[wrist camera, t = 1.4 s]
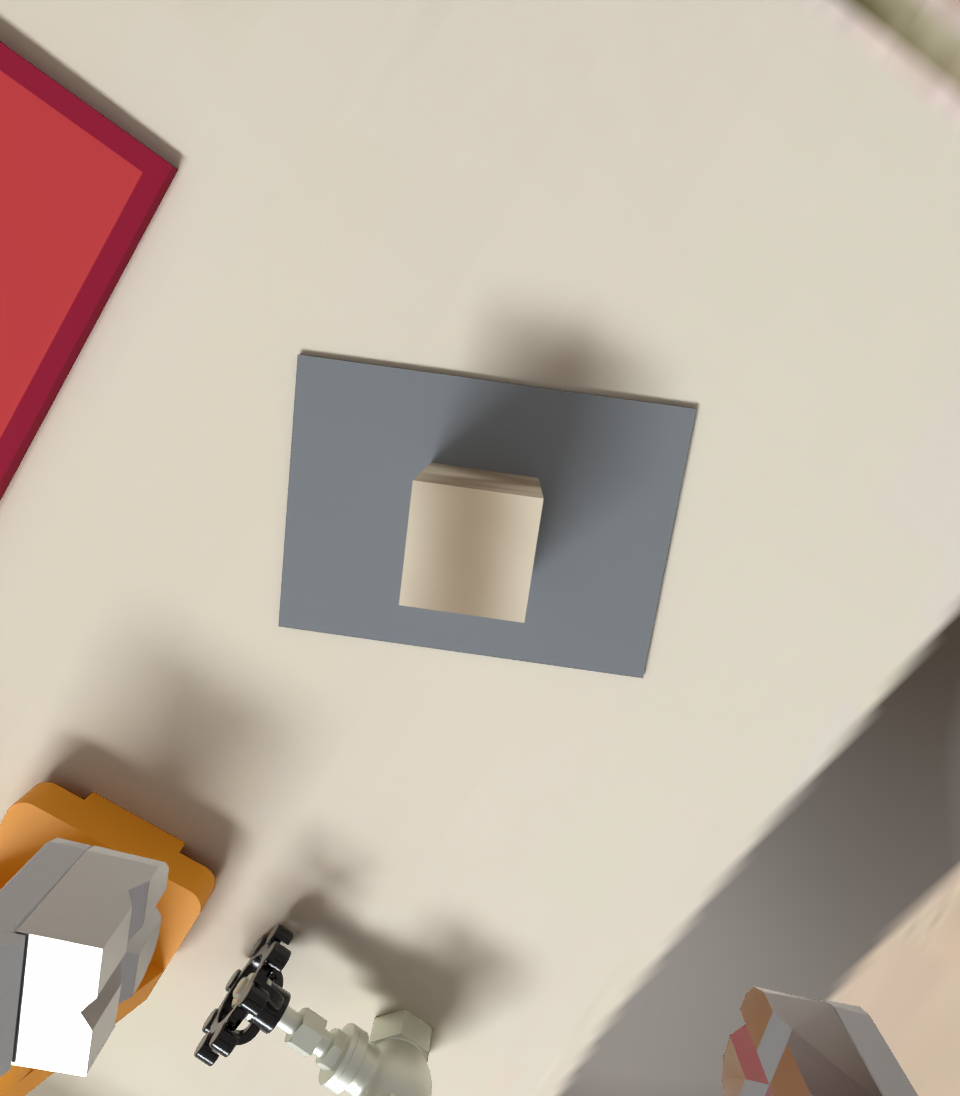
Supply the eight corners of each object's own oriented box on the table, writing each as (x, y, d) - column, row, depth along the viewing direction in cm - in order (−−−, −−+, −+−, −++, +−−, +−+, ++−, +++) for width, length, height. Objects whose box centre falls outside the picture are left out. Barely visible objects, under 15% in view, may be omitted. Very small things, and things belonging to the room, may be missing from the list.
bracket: (228, 865, 39) (104, 1074, 27) (170, 959, 40) (30, 1194, 29) (49, 766, 38) (-157, 938, 26) (-3, 866, 40) (-219, 1069, 28)
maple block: (538, 477, 33) (543, 498, 27) (522, 581, 34) (524, 622, 28) (430, 462, 33) (412, 480, 27) (418, 566, 34) (398, 605, 28)
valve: (466, 1019, 40) (294, 898, 39) (456, 1139, 34) (251, 999, 33) (395, 1088, 42) (227, 974, 41) (374, 1217, 35) (173, 1086, 34)
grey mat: (695, 408, 32) (696, 408, 32) (642, 676, 35) (642, 678, 35) (299, 354, 32) (297, 354, 32) (279, 624, 35) (278, 626, 35)
